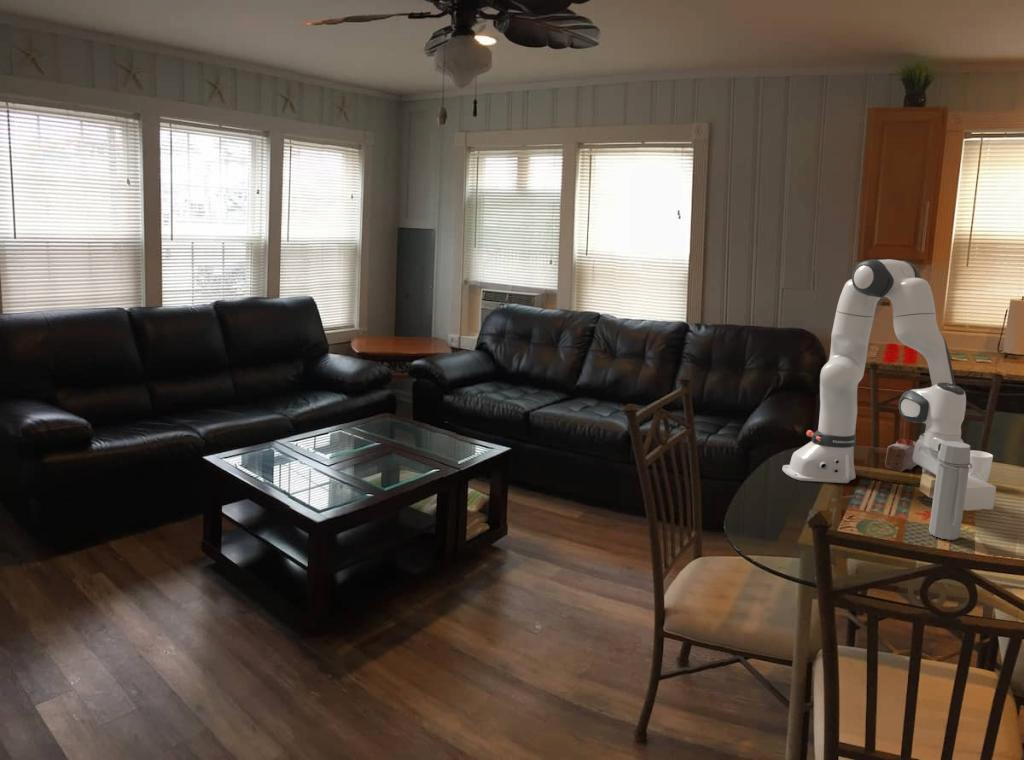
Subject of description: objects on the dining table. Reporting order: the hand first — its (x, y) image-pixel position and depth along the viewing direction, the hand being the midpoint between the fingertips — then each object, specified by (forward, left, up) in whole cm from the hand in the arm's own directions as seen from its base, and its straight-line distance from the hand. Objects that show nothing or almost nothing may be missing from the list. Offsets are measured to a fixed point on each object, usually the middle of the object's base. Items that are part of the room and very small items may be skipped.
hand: (933, 488), depth 225 cm
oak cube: (0, 0, -2) cm, 2 cm away
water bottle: (-8, -19, -7) cm, 22 cm away
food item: (+16, +42, -7) cm, 45 cm away
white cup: (+29, +24, -7) cm, 38 cm away
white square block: (+13, +7, -7) cm, 16 cm away
